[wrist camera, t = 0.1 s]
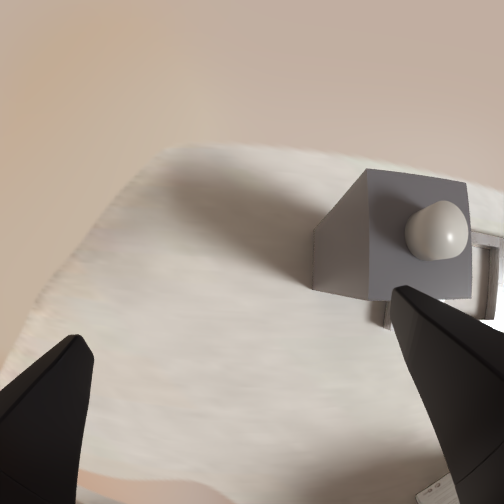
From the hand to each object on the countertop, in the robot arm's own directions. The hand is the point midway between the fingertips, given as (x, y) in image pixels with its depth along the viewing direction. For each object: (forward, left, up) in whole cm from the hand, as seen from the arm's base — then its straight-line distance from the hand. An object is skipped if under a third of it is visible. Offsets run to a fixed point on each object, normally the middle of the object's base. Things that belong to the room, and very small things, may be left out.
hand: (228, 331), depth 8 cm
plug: (-2, -7, -15) cm, 16 cm away
